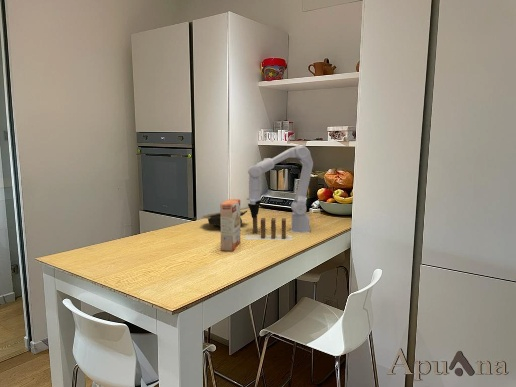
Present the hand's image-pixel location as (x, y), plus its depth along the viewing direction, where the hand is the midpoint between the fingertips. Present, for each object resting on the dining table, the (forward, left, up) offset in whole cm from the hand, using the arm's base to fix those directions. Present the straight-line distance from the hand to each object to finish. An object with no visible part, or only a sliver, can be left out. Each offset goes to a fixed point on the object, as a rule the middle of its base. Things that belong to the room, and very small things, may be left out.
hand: (254, 216), depth 199 cm
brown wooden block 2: (-5, +10, -8) cm, 14 cm away
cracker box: (+8, +25, -9) cm, 28 cm away
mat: (-8, +10, -9) cm, 15 cm away
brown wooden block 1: (0, 0, -9) cm, 9 cm away
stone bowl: (+19, -14, -9) cm, 25 cm away
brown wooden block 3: (-10, +10, -8) cm, 16 cm away
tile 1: (-15, +10, -8) cm, 20 cm away
